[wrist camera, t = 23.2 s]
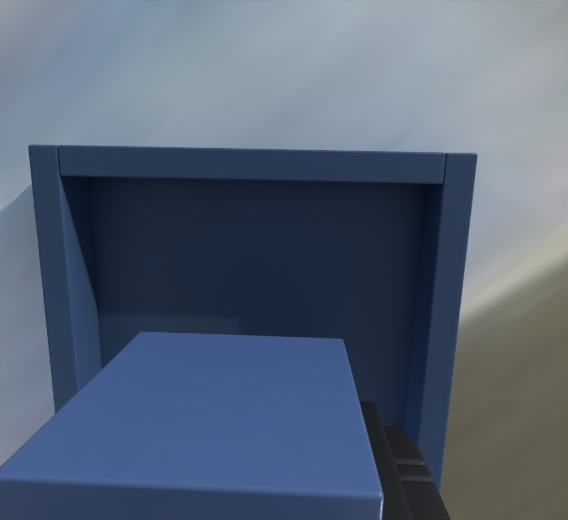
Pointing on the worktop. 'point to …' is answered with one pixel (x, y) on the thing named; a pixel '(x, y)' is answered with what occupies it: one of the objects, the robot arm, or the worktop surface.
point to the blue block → (203, 437)
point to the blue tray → (261, 260)
